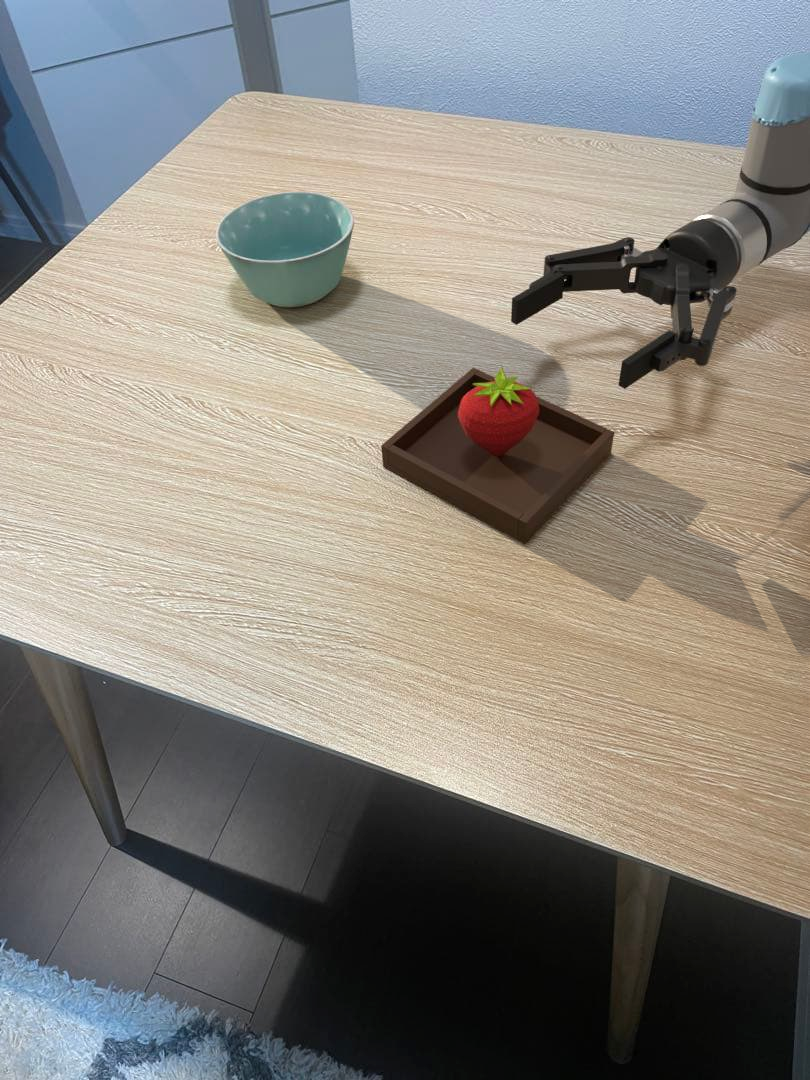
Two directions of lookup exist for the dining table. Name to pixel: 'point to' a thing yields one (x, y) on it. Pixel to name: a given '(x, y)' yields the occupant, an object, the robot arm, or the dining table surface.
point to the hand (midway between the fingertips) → (566, 342)
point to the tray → (498, 461)
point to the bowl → (288, 245)
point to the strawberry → (498, 413)
